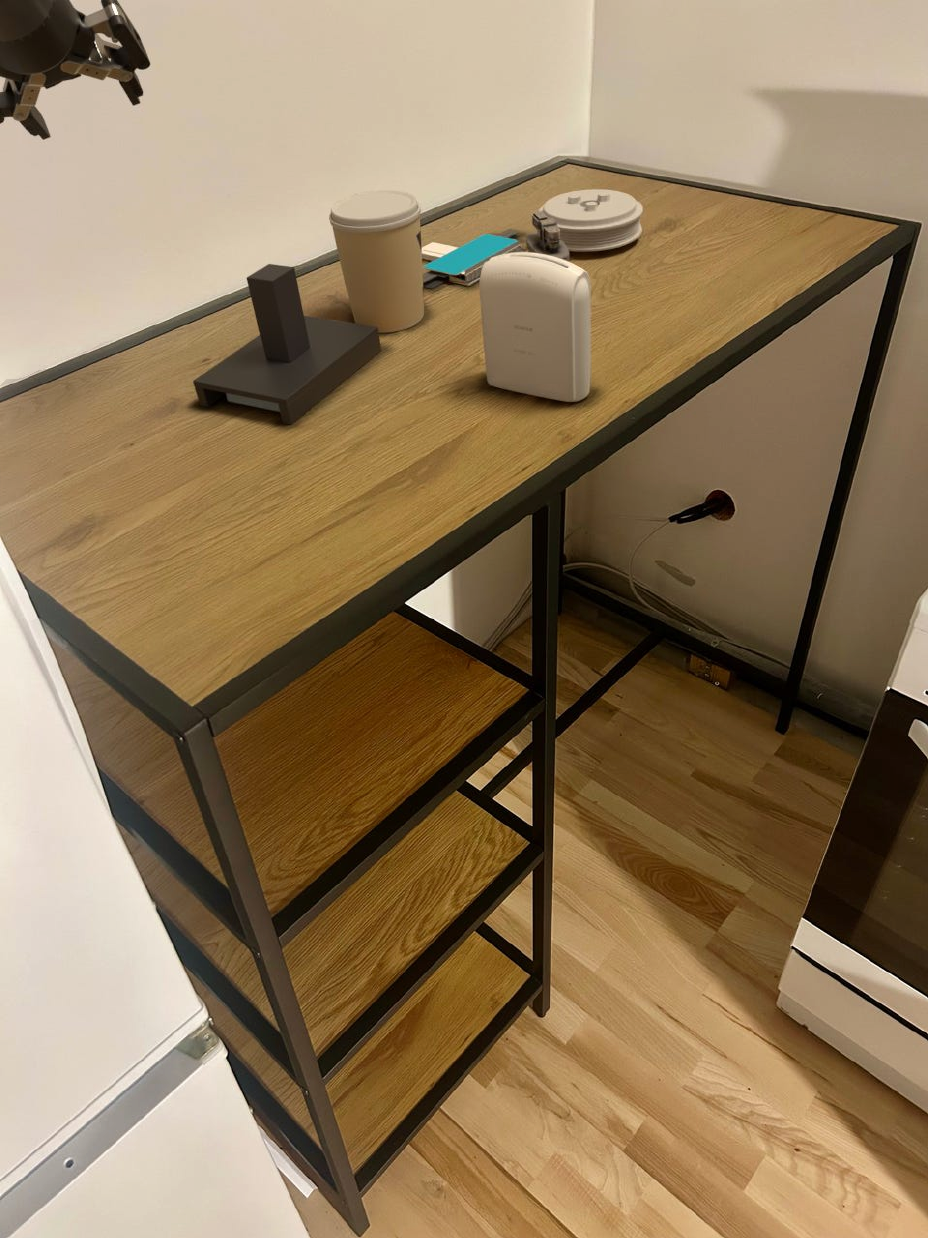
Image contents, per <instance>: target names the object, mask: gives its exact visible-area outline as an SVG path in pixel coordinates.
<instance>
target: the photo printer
mask: <svg viewBox="0 0 928 1238" xmlns="http://www.w3.org/2000/svg"><path fill="white" fill-rule="evenodd" d="M478 283H479V284H478V290H479V301H480V314H481V326H482V327H481V328H482V338H483V351H484V362H485V363H484V364H485V375H486V381H487V383H488V384H489V385H490V386H492V387H494V388H499V389H503V390H507V391H511V392H516V393H520V394H526V395H531V396H535V397H540V398H544V399H550V400H555V401H561V402H567V403H572V402H573V403H577V402H580V401H583V400H584V399H585V398H587V397H588V396H589V394H590V391H591V383H592V289H591V288H592V286H591V284H592V283H591V278H590V276H589V273H588V272H587V271H586V270H585V269H583V268H582V267H580V266H578V265H576V264H574V263H573V262H570V261H569V262H568V261H565V260H563V259H560V258H557V257H553V256H549V255H545V254H539V253H530V252H515V253H507V254H502V255H498V256H495V257H492V258H491V259H490V260H489V261H487V262H485V263H484V265H483V268H482V271H481V275H480V281H479V282H478Z"/></svg>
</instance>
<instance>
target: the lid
mask: <svg viewBox="0 0 928 1238" xmlns="http://www.w3.org/2000/svg"><path fill="white" fill-rule="evenodd" d="M537 211H542V212H543V213H544V214H545V215H546V216H547V217H548V218H549V219H551V218H555V219H556V221H557V226H558V228H559V229H560V240H561V241H563V242H564V244H565V245H566V246H567V248H568V251H569V252H581V253H584V252H585V253H586V252H599V251H600V252H601V251H607V250H613V249H616V248H621V247H623V246H626V245H628V244H631V243H632V242H635V241H636V240H637V239H639V237H640V236H641V235H642V231H643V228H642V225H641V217H642V215H643V211H644V207H643V205H642V204H641V202H639V201H637V200H636V199H635V197H634V196H632V195H631V194H629V193H626V192H623V191H619V190H612V189H601V188H600V189H599V188H597V189H596V188H595V189H593V188H592V189H581V190H573V191H568V192H565V193H561V194H558V195H556V196H553V197H551V198H549V199H548V200H547V201H546V202H545V203H544V204H543V205H542V206H540V208H539V209H538V210H537Z"/></svg>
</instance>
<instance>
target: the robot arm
mask: <svg viewBox="0 0 928 1238" xmlns="http://www.w3.org/2000/svg"><path fill="white" fill-rule="evenodd" d="M100 5H101V6H102V9H99V10H97V11H95V12H92V13H89V14H88V15H86V14H85V13H83V12H81V11H79V10H77V8H75V7H74V4H73V3H72V2H71V0H0V78H3V79H4V83H3V86H2V91H0V125H1V124H3V123H4V121H5V118H13V120H14V121H17V122H19V123H20V124H21V126H23V128H24V129H25V130H26V131H27V132H28V134H29V135H31V136H33V137H38V136H39V137H40V138H41V140H43V141H44V140H45V141H46V140H47V139H50V138H51V133H50V131H49V128H48V126H47V123H46V120H45V118H44V117H43V115H42V113H41V112H40V111H39V109H38V108H37V107H36V104H37V101H38V98H39V95H40V92H41V89H42V88H45V89H46V90H48V89H51V88H53V87H55V86H58V85H59V84H61V83H62V82H65V81H72V80H75V79H78V78H81V77H82V75H83V76H86V77H89V78H92V79H97V80H99V81H105V79H106V78H108V79H112V80H116V81H118V84H119V85H120V87H121V88H122V90H123V92H124V94H125V95H126V97H127V98H128V100H129V102H130V103H131V105H132V106H133V107H134V106H137V105H140V104H141V100H140V98H141V97H143V96H144V89H143V87H142V84H141V82H140V79H139V77H138V75H137V73H136V70H137V69H138V70H142V71H144V70H147V69H149V68H150V66H151V61H150V58H149V56H148V53H147V51H146V49H145V46H144V43H143V41H142V38H141V36H140V33H139V32H138V31H137V28H136V27H135V26H134V24H133V22H132V21H131V19H130V18H129V17H128V15H127V14H126V12H125V10H124V9H123V7H122V6H121V4H120V2H119V0H100ZM99 34H102V35H104V36H105V37H107V38H110V39H111V42H110V41H107V40H104V39H102V37H100V35H99ZM117 43H119V44H120V45H118V44H117Z"/></svg>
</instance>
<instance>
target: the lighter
mask: <svg viewBox="0 0 928 1238" xmlns="http://www.w3.org/2000/svg"><path fill="white" fill-rule="evenodd" d="M531 225H532V226H533V227H534V229H536V230H537V231H533V232H529V233H527V234H526V236H525V244H526V248H527V250H528V252H530V253H539V254H545V255H549V256H553V257H557V258H560V259H563V260H565V261H568V262H570V251H568V248H567V246H566V245H565V244H564V242H563V241H561V240H560V229H559V228H558V226H557V221H556V219H555V218H551V219H549V218H548V217H547V216H546V215H545V214H544V213H543V212H542V211H538V210H535V211H533V213H532V214H531Z"/></svg>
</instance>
